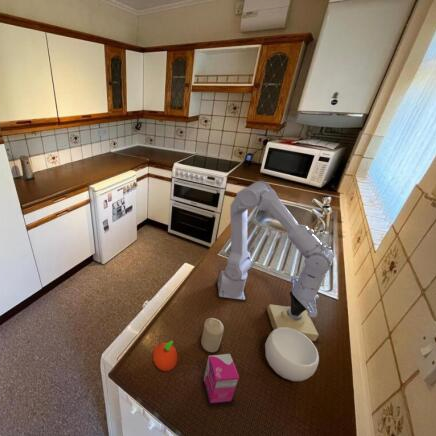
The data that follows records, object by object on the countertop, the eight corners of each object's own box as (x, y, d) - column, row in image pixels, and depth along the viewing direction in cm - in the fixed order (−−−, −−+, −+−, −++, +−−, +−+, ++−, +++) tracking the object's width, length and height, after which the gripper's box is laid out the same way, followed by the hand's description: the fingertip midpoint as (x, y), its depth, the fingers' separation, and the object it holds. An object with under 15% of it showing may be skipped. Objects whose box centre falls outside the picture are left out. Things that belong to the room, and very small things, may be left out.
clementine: (162, 344, 73) (163, 329, 70) (182, 357, 70) (184, 342, 66) (147, 366, 67) (148, 351, 64) (168, 381, 64) (170, 366, 61)
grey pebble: (288, 321, 77) (290, 317, 76) (285, 312, 80) (286, 308, 79) (300, 323, 77) (302, 319, 76) (296, 314, 80) (298, 310, 79)
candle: (219, 338, 75) (225, 317, 70) (218, 355, 71) (224, 333, 66) (202, 333, 77) (206, 312, 72) (199, 349, 72) (204, 327, 67)
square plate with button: (275, 334, 77) (279, 324, 74) (266, 309, 85) (270, 300, 83) (315, 341, 75) (321, 330, 73) (302, 315, 84) (307, 305, 81)
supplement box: (202, 379, 65) (208, 354, 59) (223, 377, 65) (231, 352, 60) (209, 404, 60) (216, 379, 54) (231, 402, 60) (241, 377, 54)
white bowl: (308, 400, 61) (321, 379, 56) (256, 372, 66) (265, 352, 62) (309, 359, 70) (321, 338, 65) (264, 338, 76) (272, 318, 71)
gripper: (336, 303, 64) (317, 335, 71) (312, 268, 77) (299, 298, 83) (307, 299, 65) (292, 331, 72) (289, 265, 78) (277, 295, 84)
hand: (294, 313), depth 78 cm, fingers closed, pressing on grey pebble
